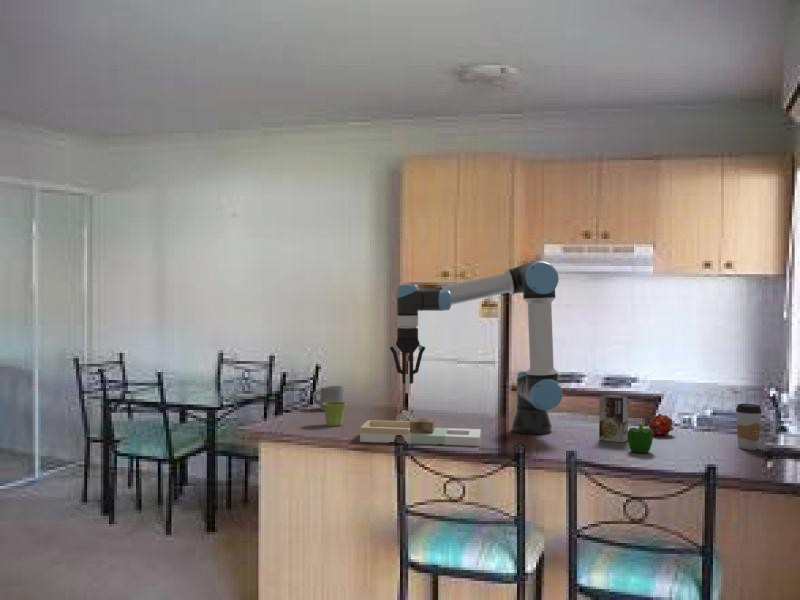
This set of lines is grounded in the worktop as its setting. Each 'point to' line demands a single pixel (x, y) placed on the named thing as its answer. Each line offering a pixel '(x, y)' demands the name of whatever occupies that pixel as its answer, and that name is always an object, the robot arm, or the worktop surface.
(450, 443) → the deck
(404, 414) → the game die
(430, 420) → the walnut block
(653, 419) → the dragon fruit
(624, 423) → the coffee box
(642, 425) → the bell pepper
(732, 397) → the worktop surface
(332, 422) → the plant pot
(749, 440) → the coffee cup
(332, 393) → the coffee mug
